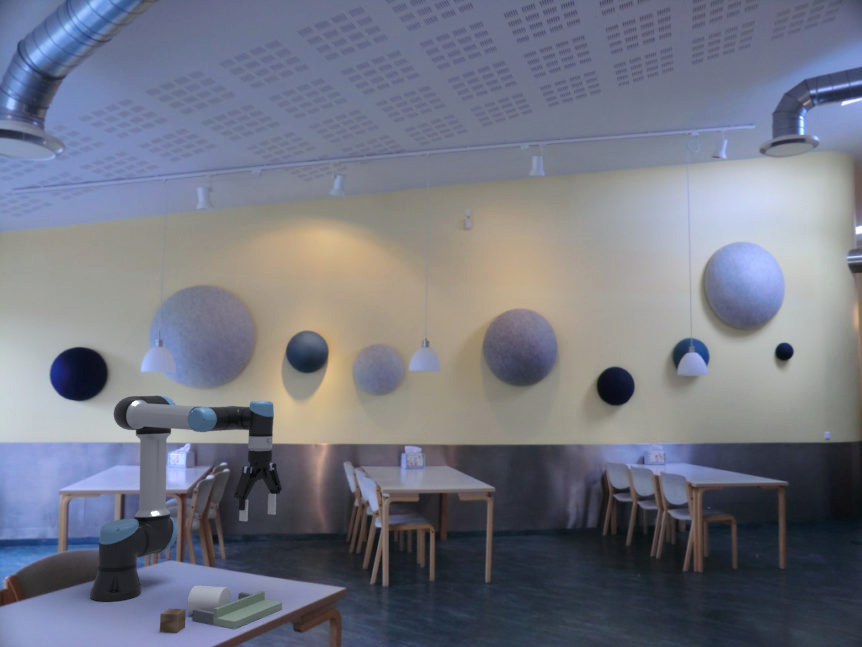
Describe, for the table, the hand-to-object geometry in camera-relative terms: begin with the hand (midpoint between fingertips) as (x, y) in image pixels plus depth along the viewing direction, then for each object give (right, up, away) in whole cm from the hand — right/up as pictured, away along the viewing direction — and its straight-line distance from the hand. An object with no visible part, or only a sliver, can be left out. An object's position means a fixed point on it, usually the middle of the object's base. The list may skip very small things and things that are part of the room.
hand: (257, 517), depth 228 cm
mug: (-12, -26, -9) cm, 30 cm away
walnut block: (-18, -25, -26) cm, 40 cm away
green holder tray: (-3, -26, -12) cm, 29 cm away
